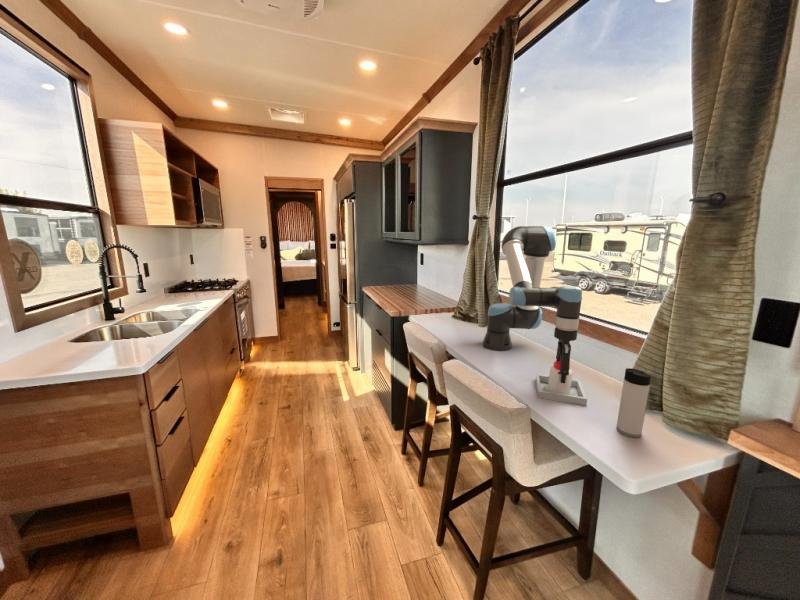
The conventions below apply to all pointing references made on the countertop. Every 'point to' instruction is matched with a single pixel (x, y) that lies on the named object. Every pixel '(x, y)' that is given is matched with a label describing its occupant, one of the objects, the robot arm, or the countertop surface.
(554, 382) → the pill bottle
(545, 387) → the pad
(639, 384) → the travel mug
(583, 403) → the shallow grey tray
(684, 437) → the countertop surface
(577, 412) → the countertop surface
